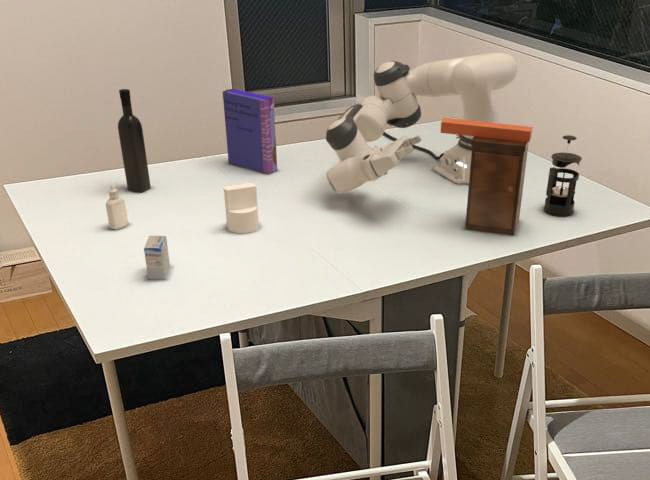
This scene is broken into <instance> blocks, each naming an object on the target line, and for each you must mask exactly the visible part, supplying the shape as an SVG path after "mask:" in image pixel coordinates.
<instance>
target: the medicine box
mask: <svg viewBox="0 0 650 480" xmlns="http://www.w3.org/2000/svg"><path fill="white" fill-rule="evenodd" d="M168 247H169V245H168V239H167V236H166V235H149V236H148V238H147V240H146V242H145V245H144V248H143V252H144V260H145V266H146V274H147V278H148V280H166V278H167V275H168V272H169V269H170V267H171V266H170V265H171V264H170V256H169V248H168Z"/></svg>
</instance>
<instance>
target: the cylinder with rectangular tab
mask: <svg viewBox="0 0 650 480" xmlns="http://www.w3.org/2000/svg"><path fill="white" fill-rule="evenodd" d="M257 195H258V194H257V184H255V183H254V182H249V183H242V184H235V185H227V186H223V196H224V198H223V199H224V207H225V219H226V229H227V230H228V231H229V232H232V233H236V234H250V233H253V232H256V231H257V230H258V229H259V227H260V225H259V224H260V223H259V209H258V196H257Z"/></svg>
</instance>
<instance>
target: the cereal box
mask: <svg viewBox="0 0 650 480" xmlns="http://www.w3.org/2000/svg"><path fill="white" fill-rule="evenodd" d="M274 99H275V97H273V96H268V95H263V94H258V93H255V92H251V91H250V92H249V91H245V90H240V89H235V88H229V89H225V90H223V91H222V101H223V103H222V104H223V112H224V113H223V114H224V126H225V137H226V149H227V160H228V161H227V162H228V165H232V166H236V167H239V168H243V169H247V170H250V171H254V172H258V173H261V174H265V175H270V174H273V173H275V172H277V171H278V158H277V157H278V156H277V155H278V153H277V138H276V116H275V100H274Z"/></svg>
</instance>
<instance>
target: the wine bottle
mask: <svg viewBox="0 0 650 480" xmlns="http://www.w3.org/2000/svg"><path fill="white" fill-rule="evenodd" d="M118 94H119V98H120V103H121V109H122V116H121V117H120V118H119V119H118V122H117V132H118V137H119V144H120V151H121V156H122V163H123V169H124V175H125V181H126V187H127V190H128V191H131V192H136V193H144V192H145V191H146V190H149V189H150V188H151V187H152V186H151V178H150V172H149V164H148V158H147V152H146V144H145V137H144V130H143V125H142V122H141V121H140V119H139V118H138V117H137V116H136V115H134V113H133V108H132V100H131V97H132V96H131V90H130V89H129V88H128V89H127V88H122V89H119V90H118Z"/></svg>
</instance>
